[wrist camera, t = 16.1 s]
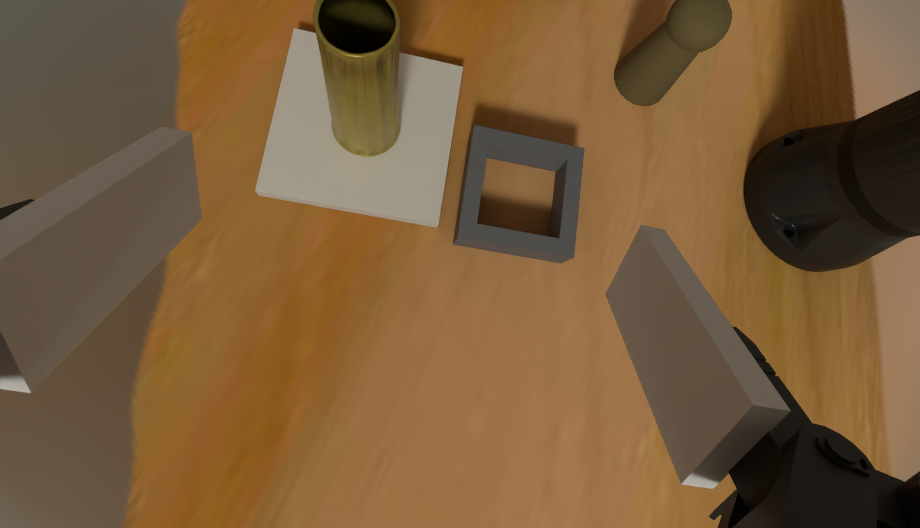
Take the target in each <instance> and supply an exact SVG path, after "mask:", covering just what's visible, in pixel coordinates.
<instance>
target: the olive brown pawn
mask: <svg viewBox="0 0 920 528" xmlns="http://www.w3.org/2000/svg"><path fill="white" fill-rule="evenodd" d="M731 20H732V11H731V8H730V5H729V3H728V1H727V0H676V1H675V2H674V3H673V5H672V7H671V9H670V11H669V13H668V15H667V20H666V21H665V22H664V23H663V24H661V25H660V26H659V27H658V28H657V29H656V30H654V31H653V32H652V33H651V34H650V35H649V36H648V37H646V38H645V39H644V40H643V41H642V42H641V43H639V44H638V45H637V46H636V47H635V48H634V49H633V50H631V51H630V52H629V53H628V54H627V55H626V56H624V57H623V58H622V59H621V60H620V61H619V62H618V63H617V66H616V68H615V71H614V80H615V84H616V87H617V89H618V90H619V92H620V94H621V95H622V96H623V97H624V98H625V99H626V100H628V101H629V102H631V103H633V104H635V105H640V106H650V105H653V104H655V103H657V102H659V100H660V99H661V98H662V97H663V96H664V95H665V94H666V92H667V91H668V90H669V89H670V88H671V86H672V85H673V84H674V83H675V81H676V80H677V79H678V78H679V76H680V75H681V74H682V73H683V72H684V70H685V69H686V68H687V67H688V65H689V64H690V63H691V62H692V60H693V59H694V58H695V57H696V56H697V54H698V53H699V52H703V51H705V50H707V49H709V48H711V47H713V46H715V45H716V44H717V43H718V42H719V41H720V40H721V39H722V38H723V37H724V36H725V34H726V33H727V31H728V29H729V26H730V24H731Z"/></svg>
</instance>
